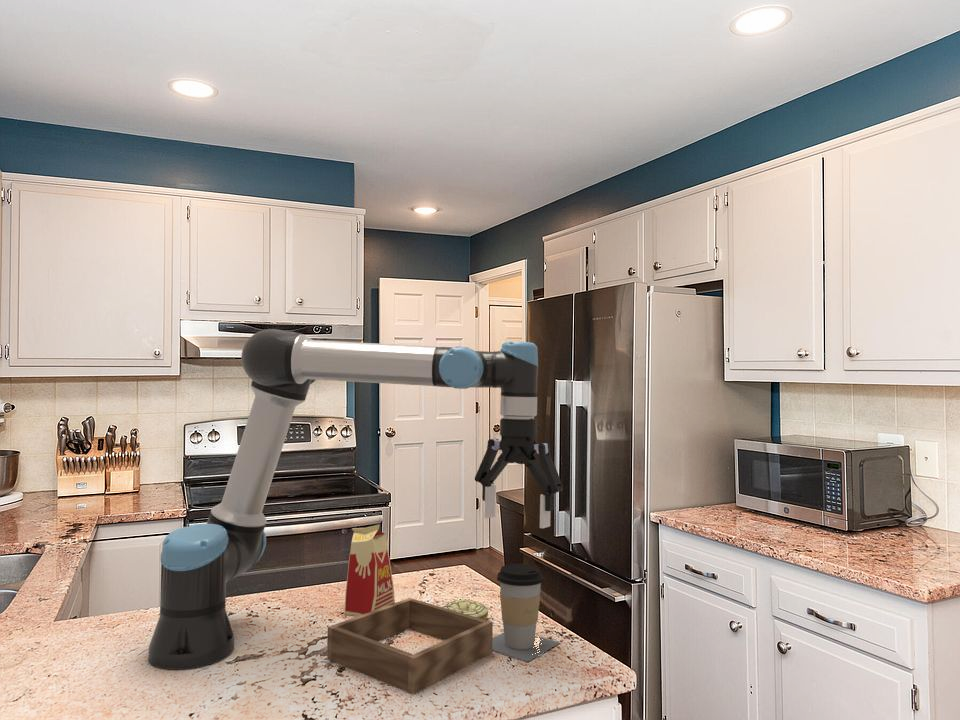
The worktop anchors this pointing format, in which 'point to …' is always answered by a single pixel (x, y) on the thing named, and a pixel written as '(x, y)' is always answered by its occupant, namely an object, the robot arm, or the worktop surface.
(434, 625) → the frame
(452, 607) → the decorated donut
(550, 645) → the mat
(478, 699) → the worktop surface
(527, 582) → the coffee cup
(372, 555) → the milk carton
